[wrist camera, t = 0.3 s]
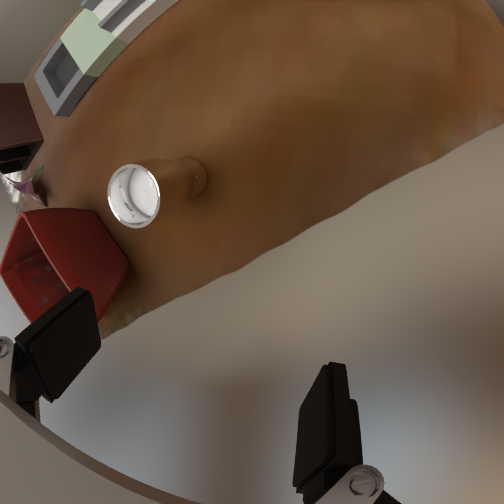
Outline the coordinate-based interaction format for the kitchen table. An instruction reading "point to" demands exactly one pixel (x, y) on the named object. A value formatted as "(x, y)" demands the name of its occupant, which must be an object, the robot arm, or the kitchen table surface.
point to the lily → (25, 187)
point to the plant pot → (61, 260)
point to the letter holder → (17, 129)
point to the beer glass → (153, 189)
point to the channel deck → (92, 48)
